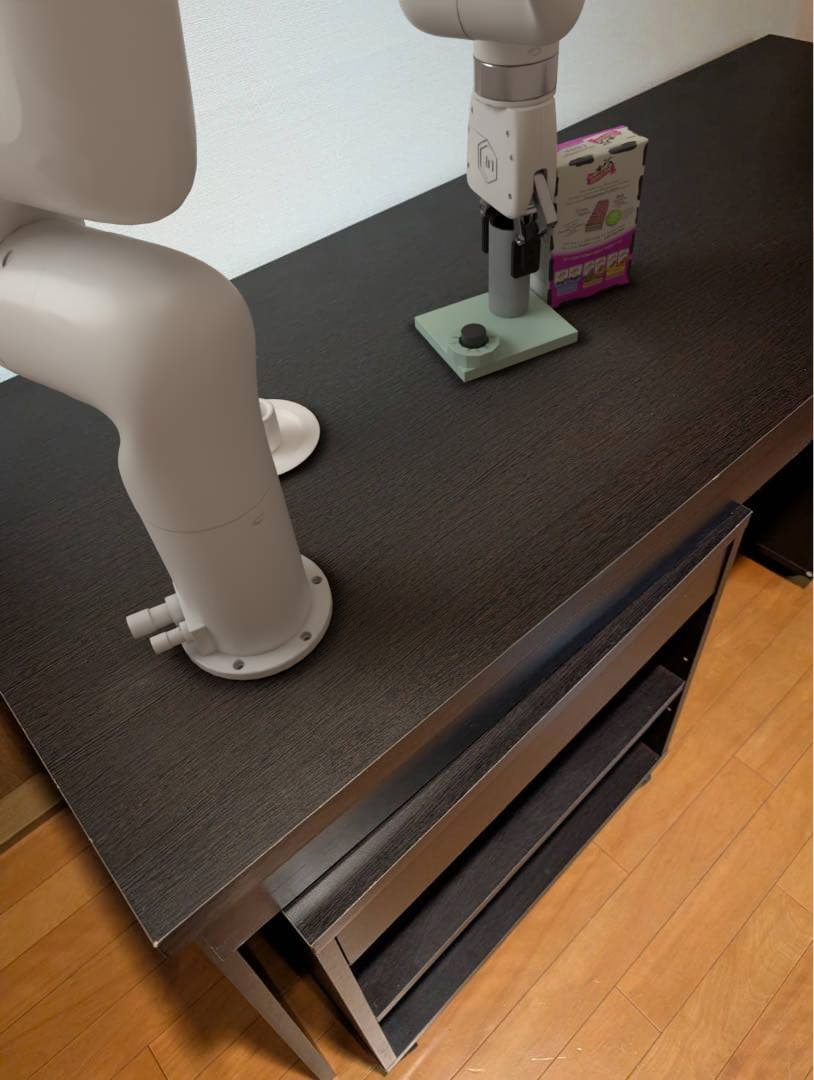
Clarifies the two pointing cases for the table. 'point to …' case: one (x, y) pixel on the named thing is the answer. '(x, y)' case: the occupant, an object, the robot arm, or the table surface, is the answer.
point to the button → (473, 336)
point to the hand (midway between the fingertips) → (509, 259)
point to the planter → (505, 270)
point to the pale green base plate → (494, 335)
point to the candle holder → (289, 432)
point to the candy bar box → (592, 216)
